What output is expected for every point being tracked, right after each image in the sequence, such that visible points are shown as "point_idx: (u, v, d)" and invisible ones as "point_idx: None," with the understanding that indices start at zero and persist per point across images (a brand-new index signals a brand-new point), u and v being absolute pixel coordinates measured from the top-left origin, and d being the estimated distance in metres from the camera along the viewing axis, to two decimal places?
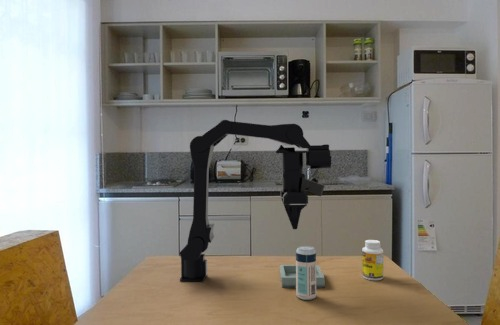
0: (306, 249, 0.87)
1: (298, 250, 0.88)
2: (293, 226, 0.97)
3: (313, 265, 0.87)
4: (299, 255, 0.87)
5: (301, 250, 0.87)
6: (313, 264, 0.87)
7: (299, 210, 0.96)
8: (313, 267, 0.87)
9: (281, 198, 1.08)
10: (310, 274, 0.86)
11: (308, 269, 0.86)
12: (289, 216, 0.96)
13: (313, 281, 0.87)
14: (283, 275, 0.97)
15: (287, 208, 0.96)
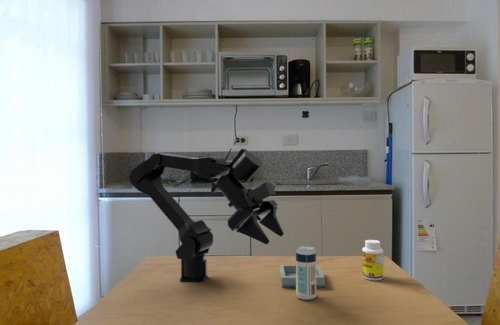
0: (306, 249, 0.87)
1: (298, 250, 0.88)
2: (264, 242, 0.88)
3: (313, 265, 0.87)
4: (299, 255, 0.87)
5: (301, 250, 0.87)
6: (313, 264, 0.87)
7: (253, 224, 0.87)
8: (313, 267, 0.87)
9: (260, 221, 1.00)
10: (310, 274, 0.86)
11: (308, 269, 0.86)
12: (252, 236, 0.88)
13: (313, 281, 0.87)
14: (283, 275, 0.97)
15: (243, 231, 0.89)
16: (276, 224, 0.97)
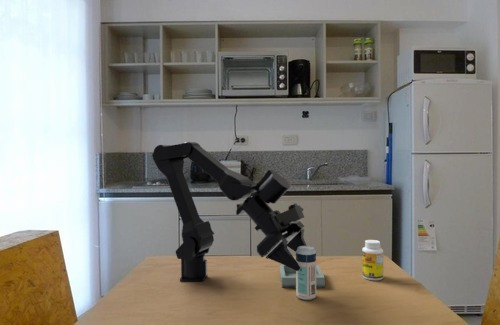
0: (306, 249, 0.87)
1: (298, 250, 0.88)
2: (294, 268, 0.84)
3: (313, 265, 0.87)
4: (299, 255, 0.87)
5: (301, 250, 0.87)
6: (313, 264, 0.87)
7: (283, 250, 0.84)
8: (313, 267, 0.87)
9: (286, 244, 0.97)
10: (310, 274, 0.86)
11: (308, 269, 0.86)
12: (282, 262, 0.85)
13: (313, 281, 0.87)
14: (283, 275, 0.97)
15: (273, 257, 0.85)
16: None
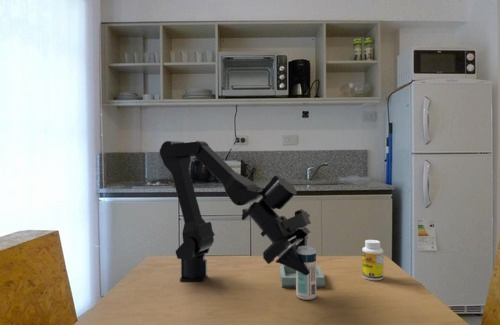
0: (306, 249, 0.87)
1: (298, 250, 0.88)
2: (304, 272, 0.85)
3: (313, 265, 0.87)
4: (299, 255, 0.87)
5: (301, 250, 0.87)
6: (313, 264, 0.87)
7: (293, 255, 0.85)
8: (313, 267, 0.87)
9: None
10: (310, 274, 0.86)
11: (308, 269, 0.86)
12: (291, 267, 0.86)
13: (313, 281, 0.87)
14: (283, 275, 0.97)
15: (282, 261, 0.86)
16: None
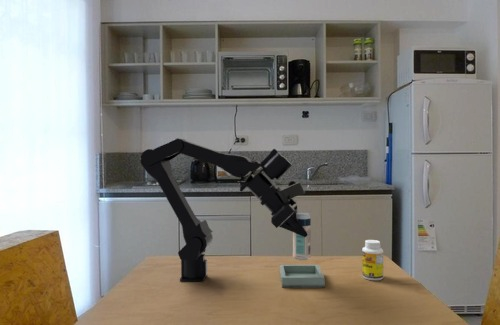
0: (303, 214, 0.97)
1: (296, 216, 0.97)
2: (303, 235, 0.96)
3: (309, 228, 0.97)
4: None
5: (300, 215, 0.97)
6: (309, 227, 0.97)
7: (295, 219, 0.94)
8: (309, 230, 0.97)
9: None
10: (308, 236, 0.97)
11: None
12: (292, 230, 0.95)
13: (309, 242, 0.97)
14: (283, 275, 0.97)
15: (285, 226, 0.95)
16: None
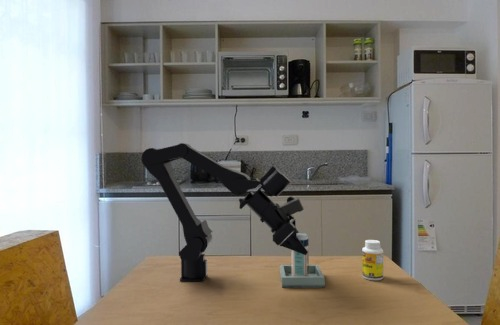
0: (301, 235, 0.99)
1: None
2: (303, 253, 0.95)
3: (307, 248, 0.99)
4: None
5: (298, 236, 0.98)
6: (307, 248, 0.99)
7: (295, 238, 0.94)
8: (307, 250, 0.99)
9: None
10: (306, 257, 0.99)
11: None
12: (292, 248, 0.95)
13: (308, 262, 0.99)
14: (283, 275, 0.97)
15: (285, 244, 0.94)
16: None
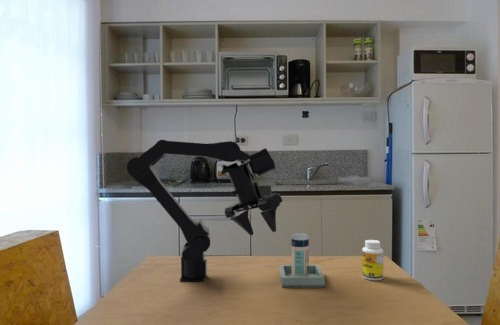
0: (302, 235, 0.99)
1: (295, 237, 0.99)
2: (273, 229, 1.02)
3: (308, 249, 0.99)
4: (296, 241, 0.98)
5: (298, 236, 0.98)
6: (308, 248, 0.99)
7: (274, 211, 1.02)
8: (308, 250, 0.99)
9: (233, 217, 1.07)
10: (306, 257, 0.99)
11: (305, 252, 0.98)
12: (269, 221, 1.00)
13: (308, 263, 0.99)
14: (283, 275, 0.97)
15: (267, 214, 0.99)
16: (249, 224, 1.09)
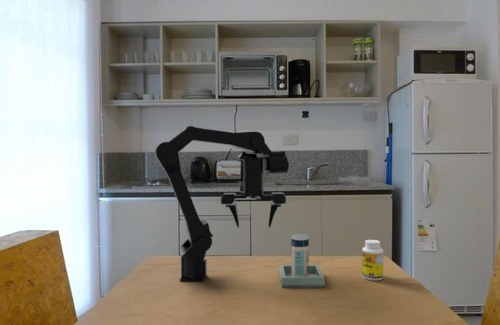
0: (302, 235, 0.99)
1: (295, 237, 0.99)
2: (270, 224, 1.08)
3: (308, 249, 0.99)
4: (296, 241, 0.98)
5: (298, 236, 0.98)
6: (308, 248, 0.99)
7: None
8: (308, 250, 0.99)
9: (232, 205, 1.06)
10: (306, 257, 0.99)
11: (305, 252, 0.98)
12: (273, 215, 1.07)
13: (308, 263, 0.99)
14: (283, 275, 0.97)
15: None
16: None
